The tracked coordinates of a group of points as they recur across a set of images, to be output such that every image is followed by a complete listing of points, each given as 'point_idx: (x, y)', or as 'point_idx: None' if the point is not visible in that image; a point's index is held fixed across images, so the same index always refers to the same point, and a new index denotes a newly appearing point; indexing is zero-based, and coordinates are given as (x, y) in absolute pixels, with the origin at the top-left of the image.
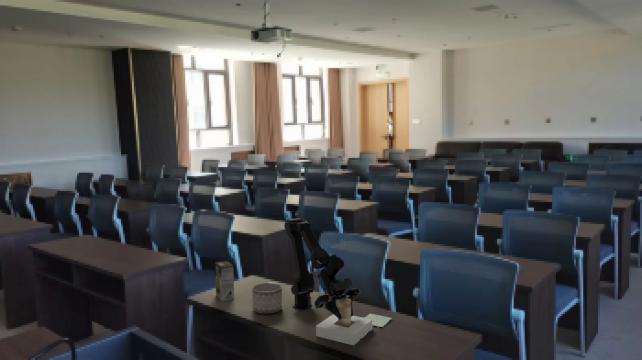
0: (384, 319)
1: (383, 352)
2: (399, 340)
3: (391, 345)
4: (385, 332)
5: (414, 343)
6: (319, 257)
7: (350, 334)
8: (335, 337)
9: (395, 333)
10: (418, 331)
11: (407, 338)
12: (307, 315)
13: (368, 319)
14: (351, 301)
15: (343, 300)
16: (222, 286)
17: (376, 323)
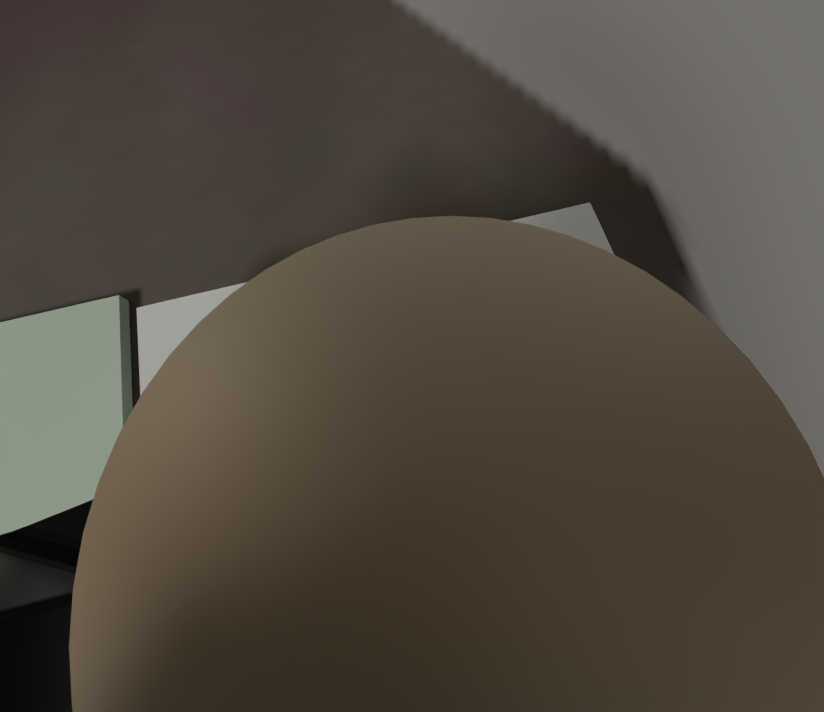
0: None
1: (471, 80)
2: (251, 107)
3: (352, 100)
4: (188, 238)
5: (232, 35)
6: None
7: (604, 233)
8: None
9: (161, 181)
10: (42, 102)
11: (190, 92)
12: None
13: (153, 341)
14: (38, 537)
15: (511, 576)
16: None
17: (75, 376)
